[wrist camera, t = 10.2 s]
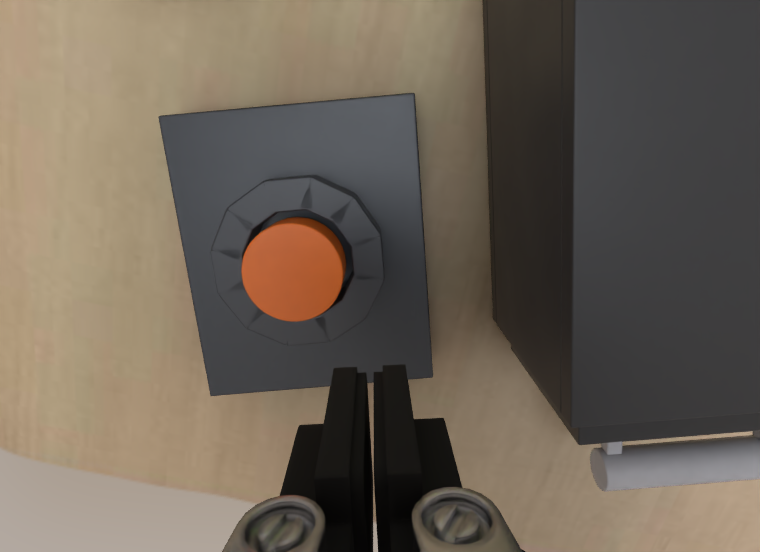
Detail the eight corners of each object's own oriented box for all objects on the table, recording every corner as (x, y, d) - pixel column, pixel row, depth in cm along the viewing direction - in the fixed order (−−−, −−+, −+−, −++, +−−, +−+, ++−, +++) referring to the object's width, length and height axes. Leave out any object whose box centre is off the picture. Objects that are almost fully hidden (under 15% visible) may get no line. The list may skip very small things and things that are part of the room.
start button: (350, 303, 19) (348, 317, 18) (260, 311, 19) (249, 326, 18) (341, 213, 18) (337, 218, 17) (246, 221, 18) (233, 227, 17)
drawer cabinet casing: (757, 297, 23) (1014, 392, 14) (492, 319, 23) (570, 429, 14) (793, -49, 20) (1171, -234, 10) (481, -20, 20) (576, -176, 10)
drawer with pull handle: (747, 412, 24) (923, 533, 16) (512, 431, 24) (576, 560, 16) (790, 8, 19) (1057, -87, 12) (503, 35, 19) (585, -42, 12)
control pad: (428, 358, 24) (438, 397, 20) (224, 375, 24) (195, 417, 20) (410, 99, 21) (418, 85, 17) (179, 120, 21) (135, 111, 17)
